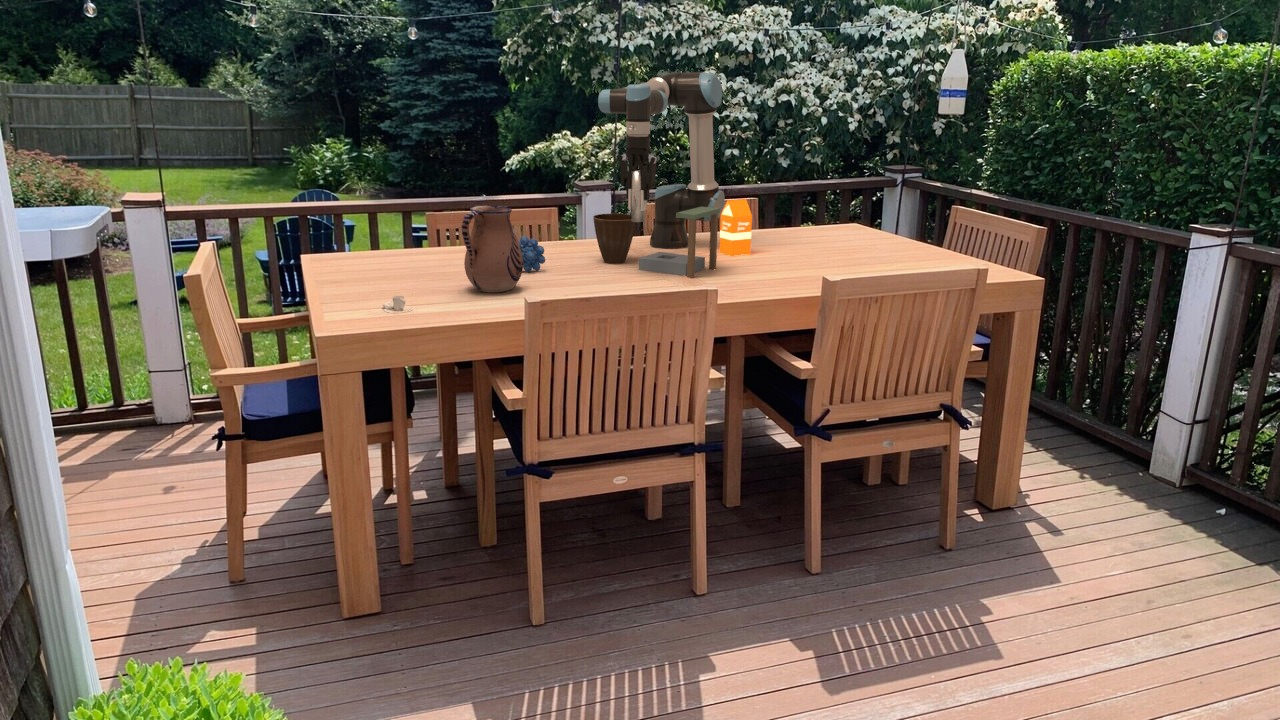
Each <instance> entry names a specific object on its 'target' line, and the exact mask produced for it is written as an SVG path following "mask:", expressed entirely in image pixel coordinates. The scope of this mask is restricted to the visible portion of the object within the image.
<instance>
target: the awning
mask: <svg viewBox="0 0 1280 720" xmlns="http://www.w3.org/2000/svg"><path fill="white" fill-rule="evenodd" d="M718 213H720V208H711V207H698V208H694V209H690V210H686V211H682V212H678V213H676V218H686V219H689V220H688V230H687V231H688V232H687V235H688V246H687V255H688V263H687V276H686V277H690V279H694V278H695V277H696V276H695V274H696V272H695V256H696V245H697V243H696V242H697V241H696V239H697V238H696V237H697V236H696V235H697V220H696V219H699V218H702V217H706V216H710V215H711V221H710V225H709V226H710V233H709V234H710V235H709V261H708V269H709V270H710V269H711V271H712V270H713V271H714V269H715V270H716V269H717V256H718V253H717V251H718V224H719V223H718V222H719V218H718ZM686 219H685V220H686ZM693 277H694V278H693Z"/></svg>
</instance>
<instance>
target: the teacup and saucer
mask: <svg viewBox="0 0 1280 720" xmlns="http://www.w3.org/2000/svg"><path fill="white" fill-rule="evenodd" d="M391 298H392V299H391V300H392V301H385V302H383V303H382V307H383V308H384V309H383V312H385V313H387V314H388V313H389V314H402V313H403V314H404V313H409V312H412V311H413V310H414V308H413V306H410V305H409V306H408V305H406V300H405V297H404V295H401V294H400V295H394V296H393V295H392V297H391ZM404 308H406V309H408V310H404ZM390 310H395V311H390ZM402 310H404V311H402Z"/></svg>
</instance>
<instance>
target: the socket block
mask: <svg viewBox="0 0 1280 720" xmlns="http://www.w3.org/2000/svg"><path fill="white" fill-rule="evenodd" d="M687 263H688V254H679V253H672V252H665V251H664V252H663V251H657V252H654V253H652V254H648V255H644V256H641V257H638V271H644V272H653V273H659V272H661V273H660V274H667V273H669V275H674V274H677V275H676V276H682V275H685V276H684V277H687V276H686V275H687ZM705 266H706V257H705V256H697V255H695V273H698V272H700V271H702V270H705Z"/></svg>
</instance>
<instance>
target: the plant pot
mask: <svg viewBox="0 0 1280 720" xmlns="http://www.w3.org/2000/svg"><path fill="white" fill-rule="evenodd" d="M592 218H593V219H592V220H593V225H594V232H595V236H596V240H597V241H596V242H597V244H598V248H599V252H600V254H601V257H602V260H603V262H604V263H605V264H611V265H612V264H613V265H619V264H623V263H625V262H626V259H627V257H628V255H629V252H630V248H631V245H632V241H633V238H634V233H635V229H636V228H635V227H636V222H632V221H631V214H629V213H600V214H595V215H593V216H592Z"/></svg>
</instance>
